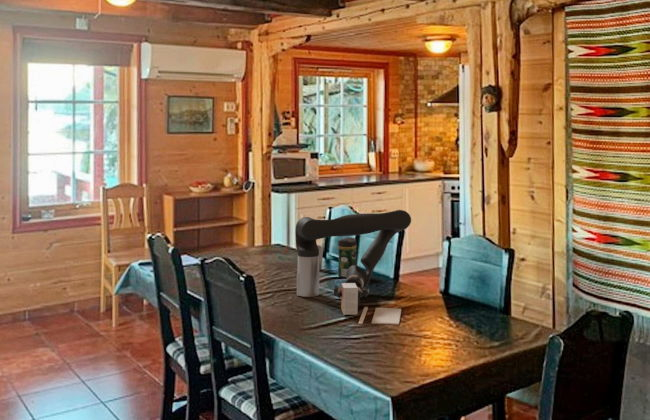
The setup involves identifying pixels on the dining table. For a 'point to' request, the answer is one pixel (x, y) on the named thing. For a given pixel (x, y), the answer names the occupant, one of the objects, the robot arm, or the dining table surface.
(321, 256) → the cup
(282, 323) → the dining table surface
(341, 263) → the coffee jar
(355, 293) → the small box
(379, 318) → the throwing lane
